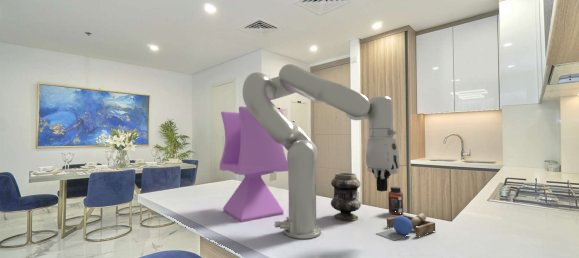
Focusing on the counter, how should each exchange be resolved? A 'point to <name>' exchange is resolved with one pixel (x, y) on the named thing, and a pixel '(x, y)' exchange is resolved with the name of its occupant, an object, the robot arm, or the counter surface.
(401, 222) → the ball
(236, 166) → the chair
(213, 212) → the counter surface
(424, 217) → the pin
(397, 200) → the supplement bottle
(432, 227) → the wooden tray
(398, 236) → the translucent flat square slab
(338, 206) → the apothecary jar
